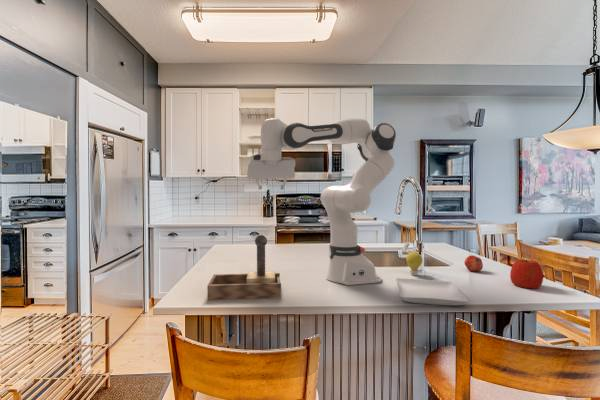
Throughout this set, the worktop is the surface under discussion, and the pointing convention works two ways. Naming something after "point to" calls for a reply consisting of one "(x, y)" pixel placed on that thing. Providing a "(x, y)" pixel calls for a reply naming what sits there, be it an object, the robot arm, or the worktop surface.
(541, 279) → the apple
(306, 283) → the worktop surface
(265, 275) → the knobbed upright rod
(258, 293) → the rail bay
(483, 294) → the worktop surface
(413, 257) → the light bulb
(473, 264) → the pomegranate
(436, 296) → the salad plate
